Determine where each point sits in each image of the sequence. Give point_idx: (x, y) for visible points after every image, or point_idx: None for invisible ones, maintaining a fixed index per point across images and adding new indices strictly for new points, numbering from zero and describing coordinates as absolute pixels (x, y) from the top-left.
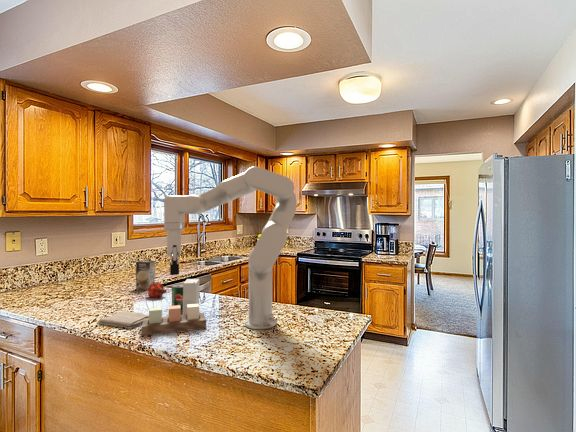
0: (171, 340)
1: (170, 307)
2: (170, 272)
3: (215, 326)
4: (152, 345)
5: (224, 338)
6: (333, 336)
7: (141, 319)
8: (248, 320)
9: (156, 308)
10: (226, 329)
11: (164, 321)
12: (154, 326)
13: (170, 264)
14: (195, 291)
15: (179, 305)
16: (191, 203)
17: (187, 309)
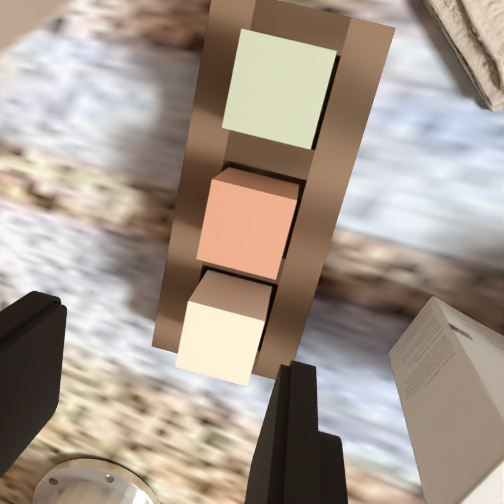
0: (78, 136)
1: (252, 203)
2: (12, 309)
3: (168, 367)
4: (50, 33)
5: None
6: None
7: (471, 28)
8: (130, 495)
9: (283, 100)
10: (107, 387)
11: (245, 145)
12: (200, 71)
13: (286, 481)
14: (419, 462)
15: (267, 271)
16: None
17: (194, 295)
